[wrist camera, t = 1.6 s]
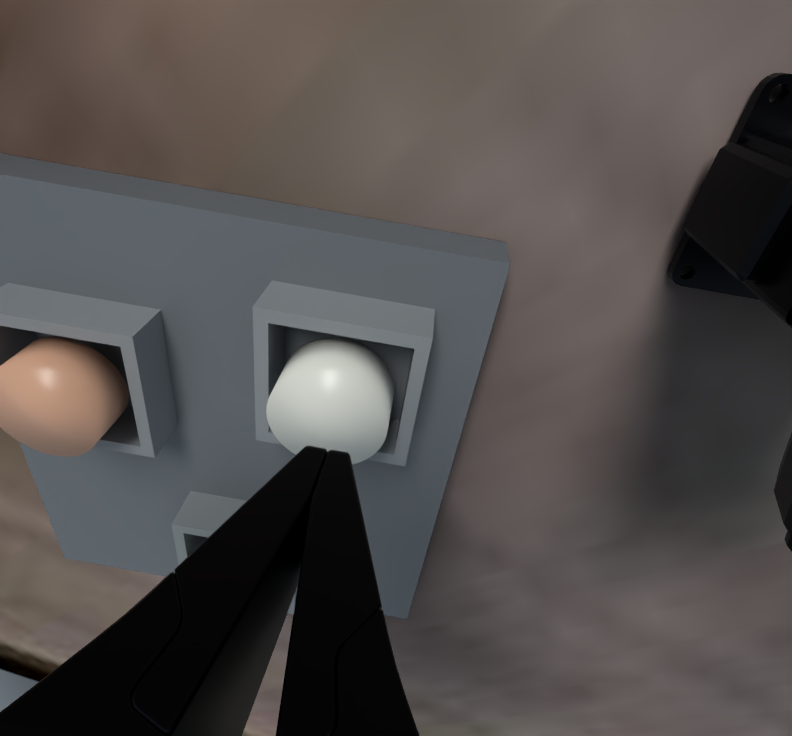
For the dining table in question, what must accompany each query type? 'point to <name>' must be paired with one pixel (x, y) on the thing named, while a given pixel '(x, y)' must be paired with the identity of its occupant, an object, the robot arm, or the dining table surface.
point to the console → (235, 352)
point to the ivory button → (332, 399)
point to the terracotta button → (60, 396)
